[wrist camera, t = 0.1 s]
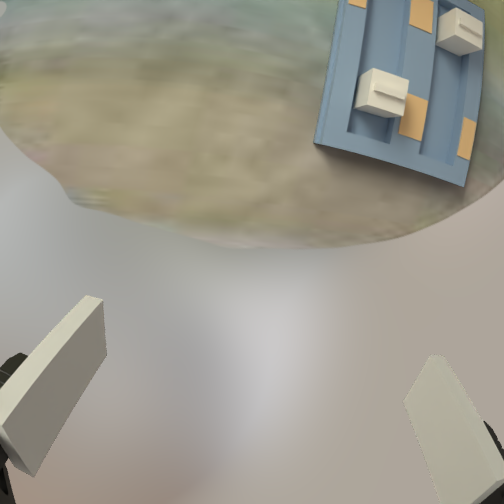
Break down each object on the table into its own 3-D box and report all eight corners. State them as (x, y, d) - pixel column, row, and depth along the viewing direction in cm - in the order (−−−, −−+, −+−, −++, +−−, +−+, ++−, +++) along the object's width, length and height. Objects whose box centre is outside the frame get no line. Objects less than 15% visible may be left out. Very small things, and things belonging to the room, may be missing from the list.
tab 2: (435, 19, 27) (458, 5, 21) (460, 31, 27) (485, 21, 21) (433, 44, 28) (457, 33, 23) (459, 56, 28) (484, 48, 23)
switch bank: (344, -38, 26) (349, -50, 23) (475, 17, 27) (487, 11, 24) (313, 142, 36) (317, 143, 32) (454, 183, 36) (467, 188, 33)
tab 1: (358, 76, 31) (375, 66, 25) (390, 86, 31) (411, 79, 25) (352, 108, 33) (368, 104, 27) (385, 118, 33) (405, 116, 27)
